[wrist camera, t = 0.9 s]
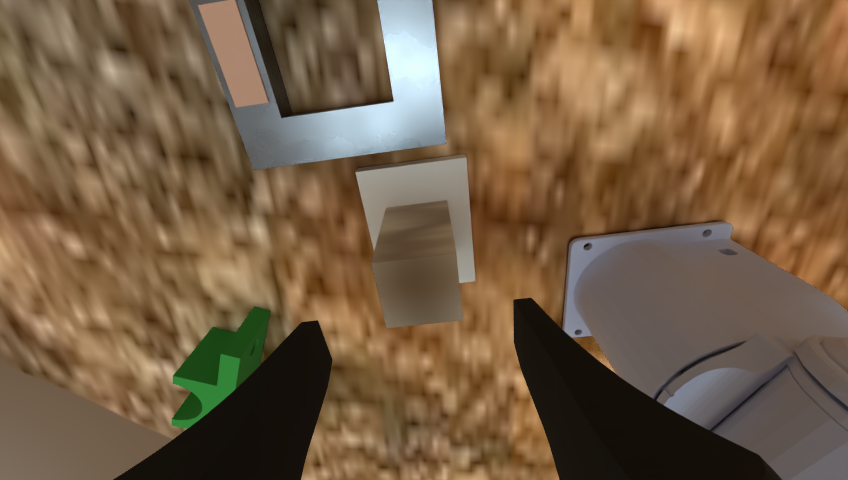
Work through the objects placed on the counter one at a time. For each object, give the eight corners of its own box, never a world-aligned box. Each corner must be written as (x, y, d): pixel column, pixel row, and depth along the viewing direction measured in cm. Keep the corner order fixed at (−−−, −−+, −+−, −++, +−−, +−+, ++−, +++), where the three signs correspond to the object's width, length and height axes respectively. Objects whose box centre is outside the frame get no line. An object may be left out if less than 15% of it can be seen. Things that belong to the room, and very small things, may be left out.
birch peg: (447, 200, 19) (456, 253, 13) (452, 253, 20) (462, 320, 15) (385, 207, 19) (370, 263, 14) (396, 259, 20) (386, 327, 15)
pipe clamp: (217, 293, 23) (173, 341, 19) (272, 308, 24) (240, 358, 20) (207, 395, 28) (169, 451, 24) (252, 405, 28) (223, 462, 24)
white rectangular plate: (464, 153, 18) (466, 157, 17) (473, 274, 22) (475, 281, 21) (357, 168, 19) (355, 172, 18) (384, 284, 22) (383, 291, 22)
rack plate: (418, -119, 13) (418, -140, 12) (444, 137, 18) (446, 143, 16) (181, -74, 14) (153, -90, 12) (266, 162, 18) (253, 170, 17)
